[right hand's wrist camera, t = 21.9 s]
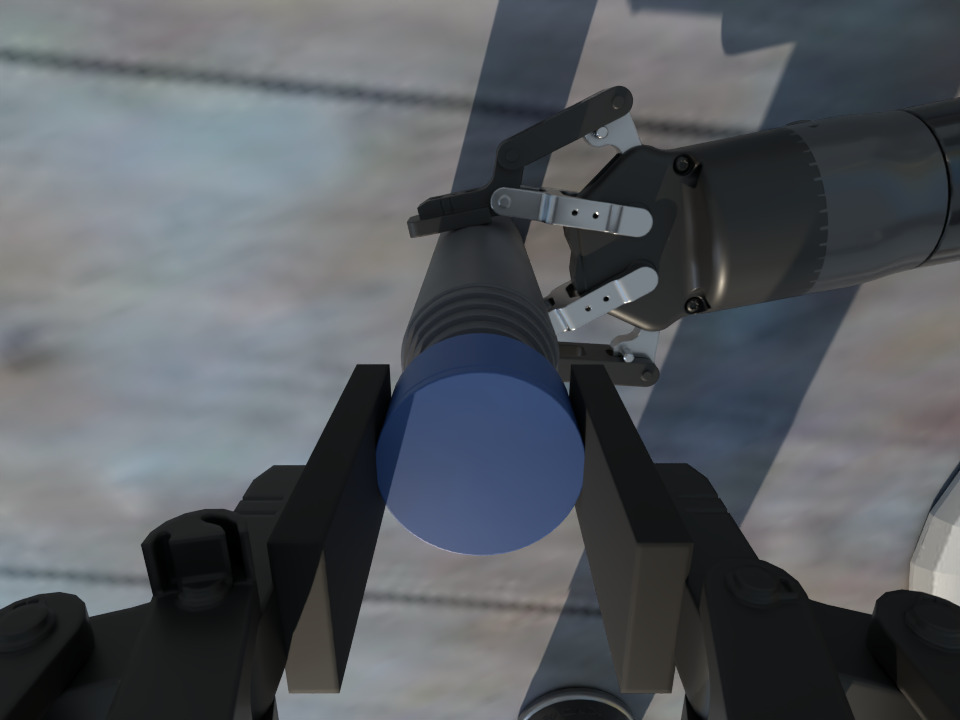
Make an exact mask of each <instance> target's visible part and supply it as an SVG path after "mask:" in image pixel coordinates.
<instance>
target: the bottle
mask: <svg viewBox="0 0 960 720" xmlns="http://www.w3.org/2000/svg"><path fill="white" fill-rule="evenodd" d="M491 220H492V223H487V224H482V225H477V226H470V227H466V228H462V229H457V230H452V231H447V232H442V233H441V234H440V236H439V239H438V242H437V245H436V248H435V251H434V253H433V256H432V259H431V262H430V265H429V267H428V270H427V273H426V276H425V279H424V282H423V284H422V287H421V290H420V293H419V296H418V298H417V301H416V304H415V307H414V310H413V313H412V315H411V318H410V321H409V324H408V327H407V329H406V332H405V335H404V339H403V343H402V350H401V365H402V373H403V372H404V370H405V369H406V367H407V366H408V365H409V364H410V363H411V362H412V361H413V360H414V359H415V358H416V357H417V356H418V355H419V354H421V353H422V352H423V351H424V350H426V349H428V348H429V347H431V346H433V345H434V344H436V343H439V342H441V341H443V340H445V339H448V338H452V337H455V336H459V335H465V334H474V333H487V334H496V335H501V336H506V337H509V338H512V339H515V340H518V341H520V342H522V343H524V344H526V345H528V346H530V347H532V348H533V349H534V350H536V351H537V352H539V353H540V354H541V355H542V356H544V357H545V358H546V359H547V360H548V361H549V362H550V363H551V364H552V366H553V367H554V368H555V369H556V371H557V372H559V356H560V355H559V345H558V341H557V337H556V334H555V331H554V328H553V325H552V322H551V319H550V317H549V314H548V311H547V308H546V305H545V303H544V300H543V297H542V294H541V291H540V289H539V286H538V283H537V280H536V277H535V274H534V272H533V269H532V266H531V263H530V260H529V258H528V255H527V252H526V249H525V246H524V244H523V241H522V238H521V235H520V232H519V230H518V228H517V226H516V224H515V223H514V221H513V220H512V219H511V218H510V217H507V216H501V215H499V216H494V217H491Z"/></svg>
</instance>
